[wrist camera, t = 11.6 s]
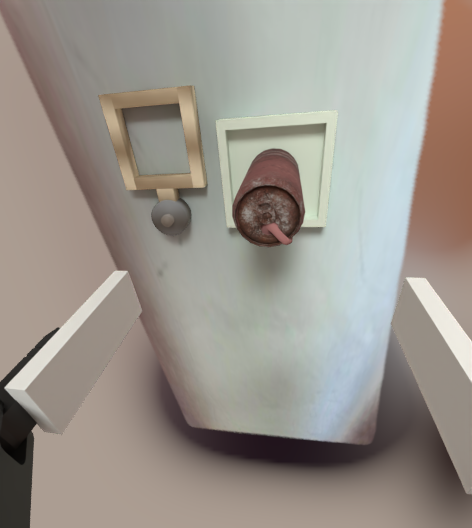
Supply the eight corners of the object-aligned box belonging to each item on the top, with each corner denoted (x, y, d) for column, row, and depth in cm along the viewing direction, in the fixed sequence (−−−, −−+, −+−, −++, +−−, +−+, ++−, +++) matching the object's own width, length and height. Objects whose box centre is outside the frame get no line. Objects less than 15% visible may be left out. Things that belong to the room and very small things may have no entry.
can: (276, 208, 36) (271, 265, 24) (239, 176, 34) (215, 220, 23) (311, 172, 33) (324, 218, 21) (272, 136, 31) (263, 163, 19)
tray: (219, 119, 32) (215, 120, 30) (335, 110, 29) (338, 111, 28) (229, 221, 38) (226, 227, 37) (323, 220, 36) (325, 226, 35)
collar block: (105, 94, 32) (89, 95, 29) (193, 85, 30) (185, 85, 27) (144, 228, 41) (134, 238, 39) (213, 228, 39) (208, 238, 37)
